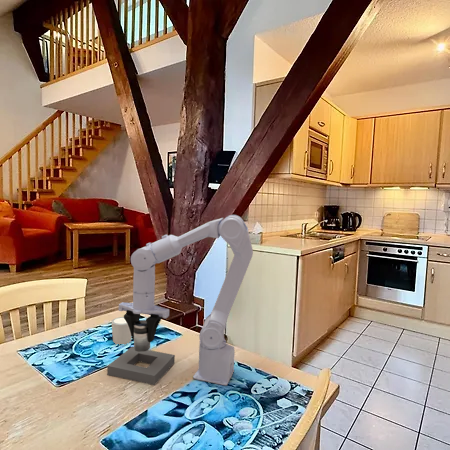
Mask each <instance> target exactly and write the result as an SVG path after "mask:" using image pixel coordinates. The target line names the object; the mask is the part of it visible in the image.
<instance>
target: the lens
mask: <svg viewBox="0 0 450 450" xmlns="http://www.w3.org/2000/svg"><path fill="white" fill-rule="evenodd" d="M133 347H134V350H135V351H138V352H143V351H147V350H150V349H151V342H148V326H147V322H146V319H142V320H140V319H139V321H136V322H135V323H134V339H133Z"/></svg>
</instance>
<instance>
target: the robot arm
mask: <svg viewBox="0 0 450 450" xmlns="http://www.w3.org/2000/svg"><path fill="white" fill-rule="evenodd" d="M249 233H250V232H249V228H248V226H247V225H246V223H245V221H244V220H243V218H242V217H241V216H239V215H237V214H230V215H227V216H225V218H224V217H221V218H216V219H213V220H210V221H207V222H206V223H204V224H202V225H199V226H198V227H196V228H193V229H192V230H190V231H188V232H186V233H183V234H181V235H179V236H178V235H177V236H176V235H174V234H169V235H168V234H164V235H162V236H161V238H160V239H159V240H156V241H154V242H148V243H146V244H145V246H143V247H141V248H137V249H136V250H135V251H134V252H133V253H132V254H131V256H130V263H131V266H132V267H133V277H132V278H133V284H132V287H133V288H132V302H123V301H122V302H121V303H119V304H118V311H119V312H125V314H124V315H123V317H124V319H125V320H126V322H127V324H128V326H129V329H130V332H131V340H134V323H135V322H136V321H140V317H141V315H149V316H148V317H146V318H145V320H146V322H147V326H148V342H150V343H152V341H154V340H155V336H156V334H157V333H156V332H157V329H158V327H159V325H160V322H161V321H162V319H167V318H169V317H170V308H165V307H161V306H160V305H157V304H155V294H156V293H155V290H156V287H155V286H156V284H155V283H156V264H160V263H162V262H166V261H168V260H170V259H172V258H174V257H177V256H178V255H180V254H181V252H182V250H183V248H184V247H187V246H189V245H192V244H194V243H196V242H199V241H201V240H203V239H206V238H214V239H220V237H221V238H222V240H224V241H225V242H226V243H227V244H228V245H229V247H230V249H231V251H232V253H233V254H234V255H233V257H232V261H231V262H230V265H229V268H228V271H227V273H226V274H225V277H224V280H223V282H222V286H221V288H220V291H219V294H218V296H217V298H216V300H215V303H214V306H213V308H212V310H211V312H210V314H209V315H208V316H206V317H205V319H204V322H203V325H202V328H201V330H200V332H199V335H198V336H199V337H198V338H199V345H198V348H199V349H198V368H197V371H196V372H195V373H194V374H193V376H192V379H193V380H198V381H203V382H207V383H211V384H217V385H222V386H228V384H229V382H230V380H231V378H232V376H233V374H234V373H235V369H234V368H235V346H233V345H230V344H228V343H227V340H226V339H225V331H226V328H227V321H228V318H229V315H230V313H231V311H232V308H233V306H234V303H235V300H236V297H237V295H238V293H239V290H240V288H241V286H242V284H243V283H242V282H243V280H244V278H245V276H246V273H247V271H248V268H249V266H250V263H251V260H252V258H253V255H254V250H253V244H252V241H251V236H250V234H249ZM233 372H234V373H233Z"/></svg>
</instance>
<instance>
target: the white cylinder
mask: <svg viewBox="0 0 450 450" xmlns="http://www.w3.org/2000/svg"><path fill="white" fill-rule="evenodd" d="M111 332H112V342H114V343H115V344H114V343H113V344H114V345H117V344H119V345H118V346H121V345H120V344H124V345H128V344H130V343H131V341H132V336H131V332H130V329H129V326H128V324H127V322H126V320H125V319H124V316H120V317H115V318H113V319H112V320H111ZM129 342H130V343H129ZM127 343H128V344H127Z"/></svg>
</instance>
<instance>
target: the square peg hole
mask: <svg viewBox="0 0 450 450" xmlns="http://www.w3.org/2000/svg"><path fill="white" fill-rule="evenodd" d="M175 357H176V356H175V354H172V353H166V352H163V351H162V352H161V351H155V350H150V349H149V350H147V351H143V352H138V351H135V350H134V346H131V347H130V348H128V349H127V350H126V351H124V353H122V354H121V355H120V356H118V357H117V358H115V359H114V360H113V361H112V362H110V363H109V364H107V369H106V370H107V371H106V373H107V376H112V377H116V378H119V379H124V380H130V381H133V382H139V383H141V384H142V383H143V384H146V385H152V386H155V385H157V383H158V382H159V381H160V380H161V379H162V378H163V377H164V376H165V374H166V373H167V372H169V370H170V369H171V368H172V367H173V366H174V365H175V361H176V360H175ZM138 362H140V363H143V364H148V366H146V367H145V366H142V365H138V364H137V363H138Z"/></svg>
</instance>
